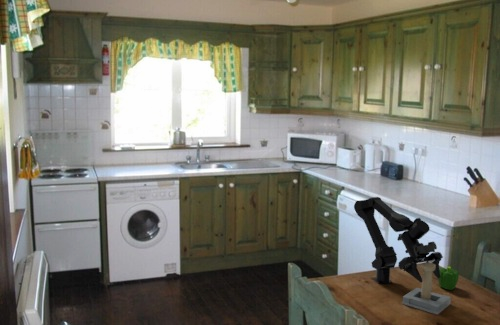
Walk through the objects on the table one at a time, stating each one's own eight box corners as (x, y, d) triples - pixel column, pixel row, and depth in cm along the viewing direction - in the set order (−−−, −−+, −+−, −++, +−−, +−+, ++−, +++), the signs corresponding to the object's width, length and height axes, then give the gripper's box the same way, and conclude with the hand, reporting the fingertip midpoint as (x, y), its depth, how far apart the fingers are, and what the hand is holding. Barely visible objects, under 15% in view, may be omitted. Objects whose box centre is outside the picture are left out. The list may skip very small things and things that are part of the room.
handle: (435, 300, 200) (438, 265, 198) (426, 305, 196) (429, 269, 193) (424, 296, 204) (427, 261, 201) (415, 301, 200) (418, 265, 197)
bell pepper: (438, 282, 222) (440, 260, 221) (458, 286, 218) (460, 264, 217) (435, 289, 215) (436, 266, 214) (455, 293, 211) (457, 270, 210)
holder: (402, 303, 200) (402, 296, 199) (416, 294, 209) (416, 287, 209) (437, 314, 190) (437, 307, 190) (450, 304, 200) (450, 296, 200)
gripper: (405, 237, 195) (424, 274, 187) (441, 232, 203) (460, 267, 195) (390, 251, 204) (407, 287, 195) (425, 245, 212) (443, 280, 203)
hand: (430, 280), depth 197 cm, fingers open, 9 cm apart
